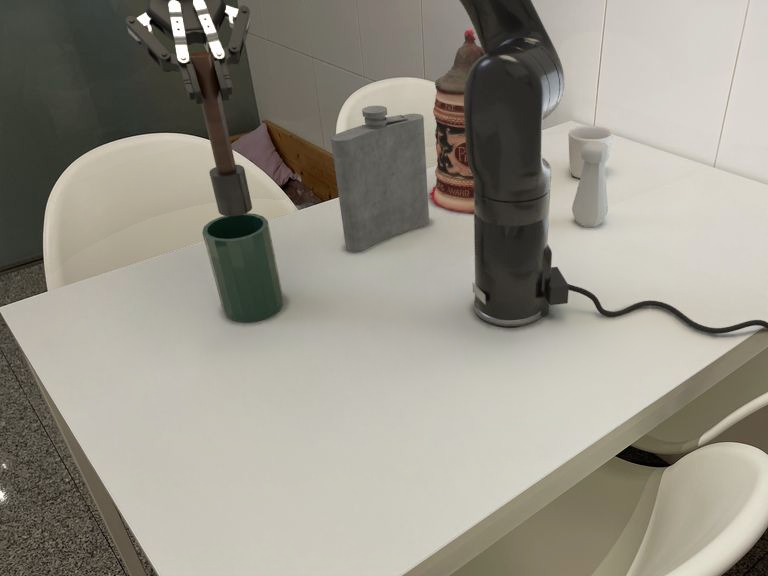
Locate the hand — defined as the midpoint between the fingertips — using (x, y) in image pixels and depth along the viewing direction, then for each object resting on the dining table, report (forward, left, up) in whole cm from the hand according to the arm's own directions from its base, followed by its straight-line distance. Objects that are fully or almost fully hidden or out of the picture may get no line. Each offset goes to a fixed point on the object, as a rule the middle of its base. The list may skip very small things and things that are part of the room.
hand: (212, 98), depth 76 cm
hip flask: (-19, -22, -29) cm, 41 cm away
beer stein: (-36, -35, -29) cm, 58 cm away
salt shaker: (-52, -19, -29) cm, 62 cm away
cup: (-58, -37, -29) cm, 74 cm away
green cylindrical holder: (+1, -4, -29) cm, 29 cm away
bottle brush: (+1, -2, -14) cm, 14 cm away
